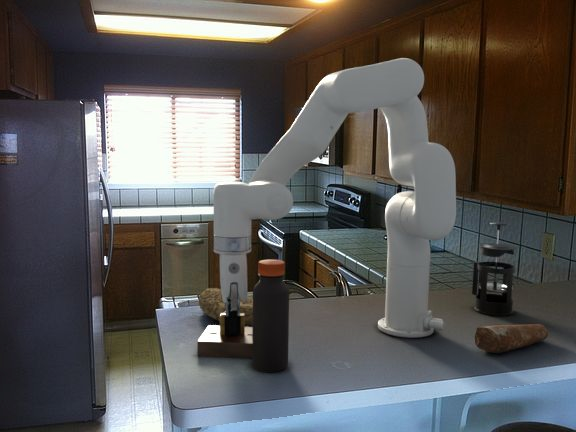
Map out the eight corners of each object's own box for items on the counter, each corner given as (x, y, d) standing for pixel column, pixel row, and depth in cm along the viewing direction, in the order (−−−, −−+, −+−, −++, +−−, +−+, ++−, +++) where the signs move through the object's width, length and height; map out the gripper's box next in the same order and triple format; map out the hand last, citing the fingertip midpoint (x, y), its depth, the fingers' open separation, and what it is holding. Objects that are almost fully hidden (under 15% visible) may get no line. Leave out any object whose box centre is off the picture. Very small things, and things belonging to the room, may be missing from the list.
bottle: (259, 375, 101) (260, 267, 99) (247, 361, 107) (247, 259, 105) (293, 369, 104) (295, 264, 102) (279, 357, 110) (281, 257, 108)
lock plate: (264, 340, 119) (264, 326, 119) (257, 358, 109) (258, 343, 109) (208, 338, 120) (208, 324, 120) (197, 355, 110) (197, 340, 110)
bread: (470, 349, 116) (472, 323, 115) (532, 336, 125) (534, 312, 124) (495, 360, 110) (496, 332, 110) (557, 345, 119) (559, 320, 119)
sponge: (193, 316, 139) (212, 324, 120) (197, 285, 140) (217, 288, 121) (243, 321, 143) (269, 329, 125) (247, 291, 144) (273, 294, 126)
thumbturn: (244, 332, 115) (244, 312, 115) (244, 334, 114) (244, 314, 113) (219, 332, 115) (219, 312, 114) (219, 335, 113) (219, 315, 113)
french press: (523, 313, 142) (529, 223, 139) (499, 319, 137) (505, 226, 134) (484, 302, 152) (490, 218, 149) (461, 307, 147) (466, 220, 144)
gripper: (255, 251, 105) (254, 345, 107) (247, 237, 120) (246, 320, 123) (215, 251, 104) (215, 347, 106) (212, 237, 119) (212, 321, 121)
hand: (232, 332), depth 114 cm, fingers closed on thumbturn
